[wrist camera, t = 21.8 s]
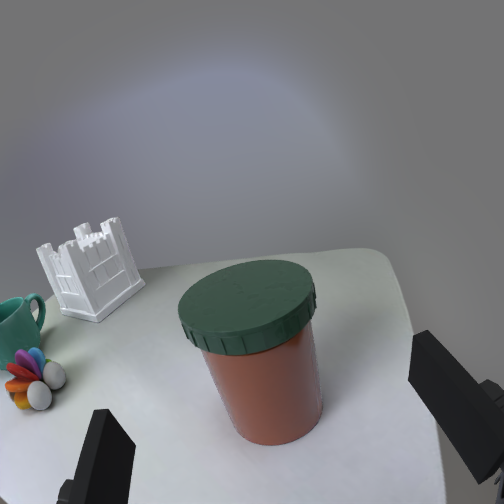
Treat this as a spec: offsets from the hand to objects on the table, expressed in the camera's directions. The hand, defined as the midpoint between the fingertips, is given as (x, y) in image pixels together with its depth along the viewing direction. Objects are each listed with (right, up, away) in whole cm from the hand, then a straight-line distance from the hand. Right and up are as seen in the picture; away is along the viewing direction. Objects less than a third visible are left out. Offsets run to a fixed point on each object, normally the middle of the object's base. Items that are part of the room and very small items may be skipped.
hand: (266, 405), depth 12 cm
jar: (+2, -9, +16) cm, 18 cm away
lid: (-1, +3, +11) cm, 12 cm away
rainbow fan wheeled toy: (-30, -14, +23) cm, 40 cm away
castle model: (-31, -4, +49) cm, 58 cm away
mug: (-41, -12, +34) cm, 55 cm away
